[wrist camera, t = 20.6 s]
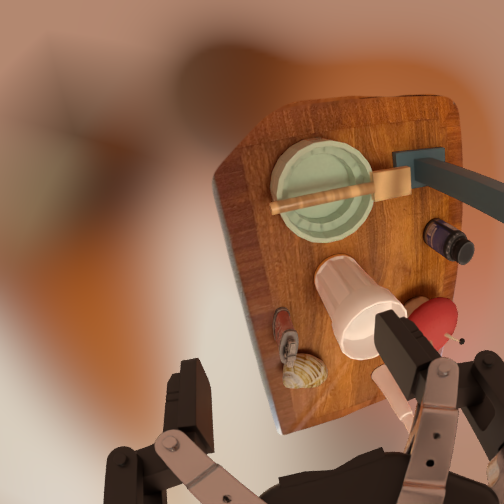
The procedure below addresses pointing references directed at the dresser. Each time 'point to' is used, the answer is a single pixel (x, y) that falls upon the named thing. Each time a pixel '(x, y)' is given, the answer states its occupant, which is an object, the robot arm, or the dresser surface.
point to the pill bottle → (448, 241)
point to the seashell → (305, 372)
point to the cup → (353, 304)
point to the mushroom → (434, 318)
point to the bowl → (322, 188)
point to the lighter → (285, 336)
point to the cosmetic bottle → (393, 395)
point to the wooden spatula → (353, 191)
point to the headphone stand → (452, 180)
